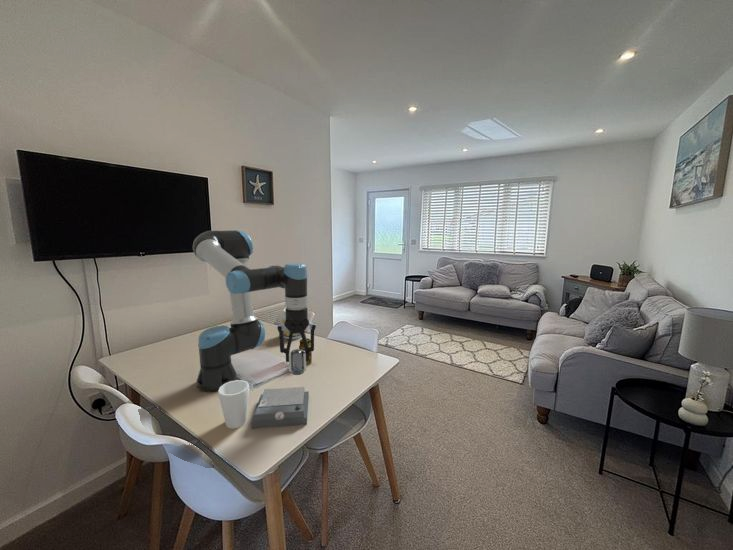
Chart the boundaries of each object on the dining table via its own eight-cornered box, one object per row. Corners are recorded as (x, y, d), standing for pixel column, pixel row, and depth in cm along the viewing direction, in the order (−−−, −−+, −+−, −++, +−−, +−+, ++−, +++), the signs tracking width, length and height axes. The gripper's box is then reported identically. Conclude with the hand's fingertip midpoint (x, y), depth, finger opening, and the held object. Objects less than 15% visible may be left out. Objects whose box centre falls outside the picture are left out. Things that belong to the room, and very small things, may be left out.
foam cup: (256, 418, 103) (255, 384, 100) (235, 435, 94) (232, 398, 92) (237, 410, 107) (235, 377, 104) (214, 426, 98) (212, 390, 96)
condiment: (314, 364, 143) (314, 341, 141) (298, 368, 139) (297, 344, 137) (308, 358, 149) (308, 336, 147) (292, 362, 145) (292, 339, 143)
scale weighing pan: (258, 410, 102) (258, 406, 101) (264, 393, 112) (264, 389, 112) (303, 407, 104) (302, 403, 104) (304, 390, 115) (304, 386, 114)
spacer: (291, 375, 104) (290, 354, 103) (292, 369, 109) (291, 349, 107) (303, 374, 105) (303, 353, 104) (304, 368, 109) (304, 348, 108)
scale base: (251, 428, 98) (251, 413, 97) (261, 400, 113) (260, 387, 112) (306, 424, 100) (306, 409, 99) (308, 397, 116) (308, 384, 115)
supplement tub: (287, 331, 185) (286, 306, 182) (305, 333, 183) (305, 307, 181) (278, 339, 173) (278, 311, 170) (298, 340, 172) (298, 313, 169)
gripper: (268, 311, 98) (271, 375, 102) (321, 309, 101) (322, 373, 105) (272, 305, 105) (274, 365, 109) (321, 304, 108) (322, 363, 112)
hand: (297, 369), depth 107 cm, fingers closed on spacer, 4 cm apart
